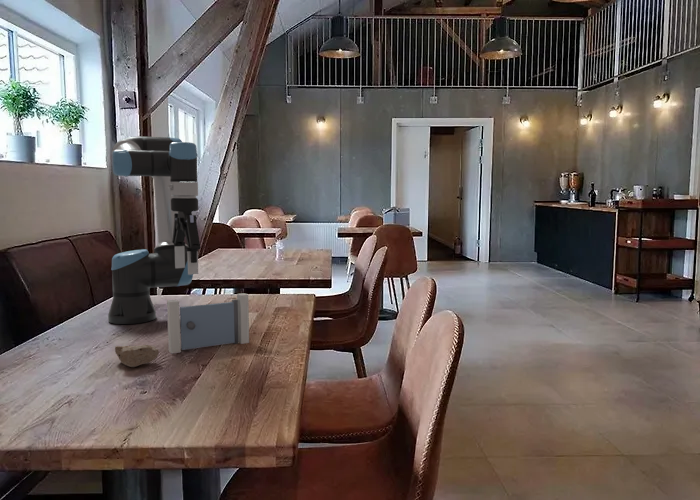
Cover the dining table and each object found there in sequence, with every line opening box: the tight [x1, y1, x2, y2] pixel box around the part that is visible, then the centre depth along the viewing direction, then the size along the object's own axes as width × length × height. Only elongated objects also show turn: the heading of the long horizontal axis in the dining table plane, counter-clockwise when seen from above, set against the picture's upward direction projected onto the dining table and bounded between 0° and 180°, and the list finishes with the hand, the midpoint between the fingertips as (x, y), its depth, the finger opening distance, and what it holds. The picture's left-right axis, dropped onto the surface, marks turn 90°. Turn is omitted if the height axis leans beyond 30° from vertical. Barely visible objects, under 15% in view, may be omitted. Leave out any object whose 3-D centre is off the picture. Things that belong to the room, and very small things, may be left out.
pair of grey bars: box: [166, 292, 250, 355], centre depth 161 cm, size 3×22×14 cm, turn 120°
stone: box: [114, 344, 160, 368], centre depth 145 cm, size 9×12×5 cm
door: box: [179, 298, 240, 351], centre depth 160 cm, size 3×16×13 cm, turn 120°
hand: (186, 271), depth 167 cm, fingers open, 13 cm apart
